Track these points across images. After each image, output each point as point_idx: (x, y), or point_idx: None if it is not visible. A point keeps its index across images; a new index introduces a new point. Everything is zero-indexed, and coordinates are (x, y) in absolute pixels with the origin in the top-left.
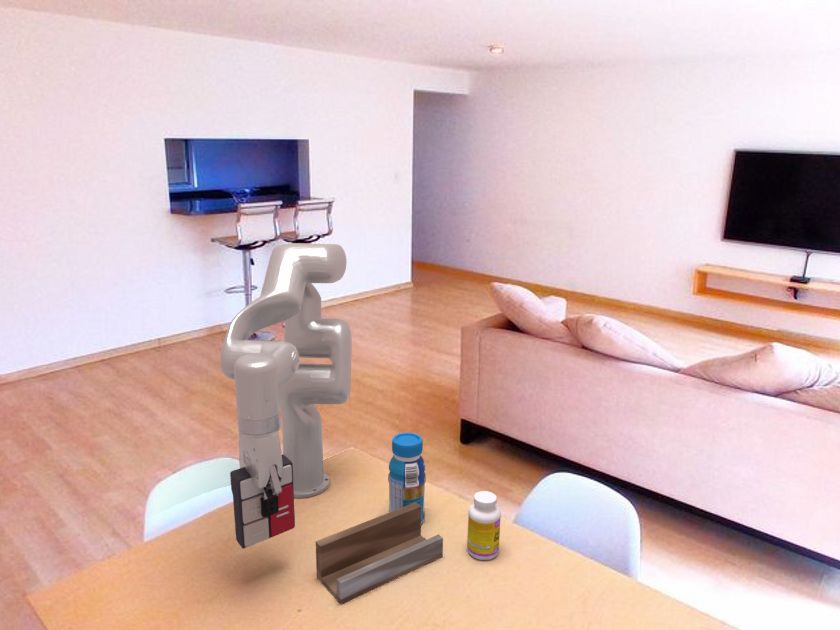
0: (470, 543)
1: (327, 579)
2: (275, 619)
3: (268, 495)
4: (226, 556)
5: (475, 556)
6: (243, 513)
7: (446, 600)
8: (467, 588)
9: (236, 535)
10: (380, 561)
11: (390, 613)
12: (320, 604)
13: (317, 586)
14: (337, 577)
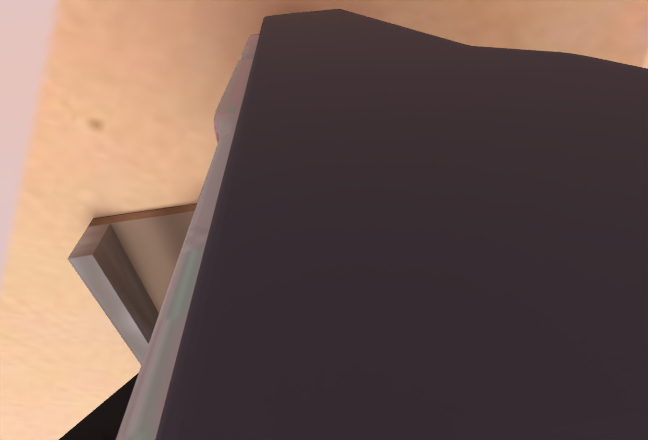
0: None
1: (183, 221)
2: (66, 45)
3: (122, 406)
4: (444, 3)
5: None
6: (231, 79)
7: (57, 366)
8: (85, 392)
9: (335, 11)
10: (140, 341)
11: (34, 290)
12: (107, 178)
13: (184, 191)
14: (182, 240)
